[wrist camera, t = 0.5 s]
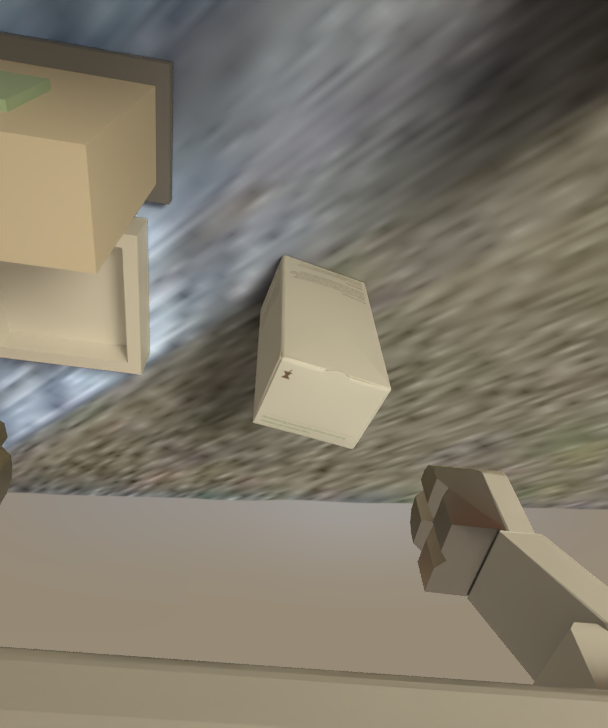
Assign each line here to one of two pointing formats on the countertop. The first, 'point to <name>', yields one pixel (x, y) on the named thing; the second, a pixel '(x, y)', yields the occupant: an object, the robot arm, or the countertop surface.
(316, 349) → the skincare box
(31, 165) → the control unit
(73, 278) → the parts tray
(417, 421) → the countertop surface
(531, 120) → the countertop surface
